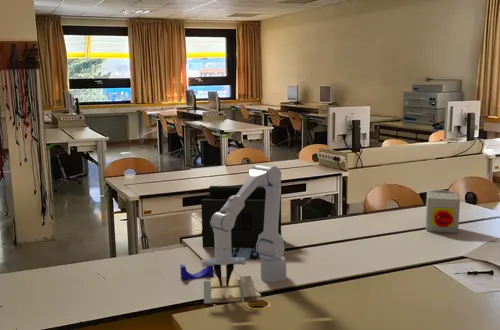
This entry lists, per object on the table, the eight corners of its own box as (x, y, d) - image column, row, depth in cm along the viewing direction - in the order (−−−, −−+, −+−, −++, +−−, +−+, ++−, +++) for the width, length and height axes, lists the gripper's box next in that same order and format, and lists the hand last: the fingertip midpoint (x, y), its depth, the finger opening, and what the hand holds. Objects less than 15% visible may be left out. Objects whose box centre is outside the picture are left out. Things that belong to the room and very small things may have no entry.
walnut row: (250, 279, 199) (250, 275, 199) (255, 300, 180) (255, 296, 180) (240, 280, 199) (239, 276, 199) (244, 300, 180) (243, 296, 180)
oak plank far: (237, 280, 199) (237, 276, 199) (238, 288, 190) (238, 285, 190) (210, 281, 198) (210, 277, 198) (210, 290, 190) (210, 286, 189)
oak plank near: (239, 291, 188) (239, 287, 188) (241, 300, 180) (240, 296, 180) (210, 292, 188) (210, 288, 187) (211, 302, 179) (211, 298, 179)
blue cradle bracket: (210, 274, 208) (210, 260, 207) (213, 278, 203) (213, 263, 202) (180, 278, 204) (179, 263, 203) (182, 282, 200) (181, 267, 199)
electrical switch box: (425, 238, 257) (427, 199, 251) (425, 226, 270) (427, 189, 264) (458, 240, 252) (461, 201, 246) (456, 228, 266) (458, 190, 260)
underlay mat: (251, 281, 200) (251, 279, 200) (257, 302, 180) (257, 300, 180) (203, 283, 198) (203, 281, 198) (204, 305, 179) (203, 303, 178)
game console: (281, 239, 252) (280, 183, 248) (278, 260, 222) (278, 197, 218) (208, 238, 255) (206, 183, 251) (195, 259, 226) (193, 197, 222)
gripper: (201, 251, 176) (203, 290, 179) (245, 249, 178) (246, 288, 180) (201, 245, 183) (202, 282, 186) (243, 243, 185) (244, 280, 187)
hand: (224, 285), depth 183 cm, fingers closed
